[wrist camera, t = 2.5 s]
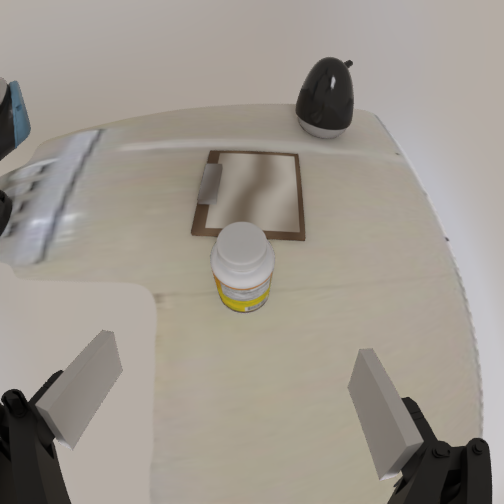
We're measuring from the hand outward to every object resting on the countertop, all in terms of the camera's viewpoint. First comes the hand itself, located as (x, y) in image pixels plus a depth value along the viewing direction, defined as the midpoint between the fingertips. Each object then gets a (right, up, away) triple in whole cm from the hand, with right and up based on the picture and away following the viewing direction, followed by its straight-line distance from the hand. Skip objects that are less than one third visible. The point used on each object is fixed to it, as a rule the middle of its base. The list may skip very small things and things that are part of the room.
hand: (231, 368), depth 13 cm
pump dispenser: (+14, +28, +33) cm, 46 cm away
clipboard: (+1, +14, +24) cm, 28 cm away
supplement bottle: (0, +1, +17) cm, 17 cm away
